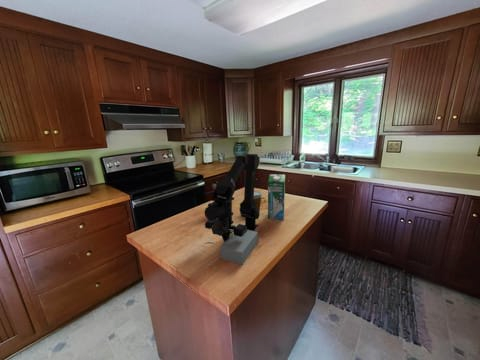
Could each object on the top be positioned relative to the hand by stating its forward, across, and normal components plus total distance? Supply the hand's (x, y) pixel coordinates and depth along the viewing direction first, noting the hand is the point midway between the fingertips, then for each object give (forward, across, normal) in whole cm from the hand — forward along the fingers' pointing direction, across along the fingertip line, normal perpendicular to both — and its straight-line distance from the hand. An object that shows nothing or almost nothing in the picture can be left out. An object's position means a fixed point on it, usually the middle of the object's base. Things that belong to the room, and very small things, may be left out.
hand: (226, 243), depth 93 cm
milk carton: (+1, +12, +40) cm, 42 cm away
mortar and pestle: (+2, -21, +33) cm, 39 cm away
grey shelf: (+1, +7, 0) cm, 7 cm away
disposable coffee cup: (+2, -3, +43) cm, 44 cm away
